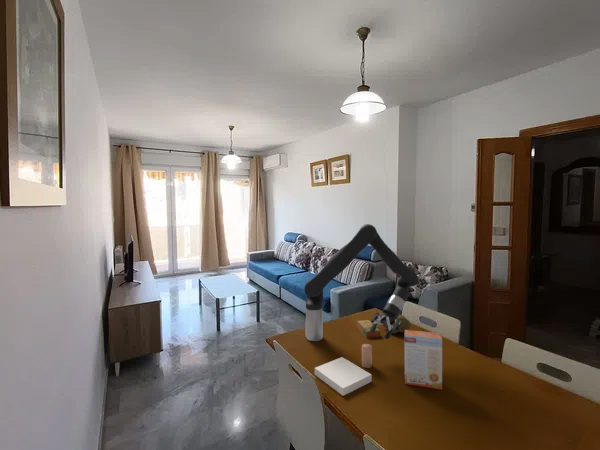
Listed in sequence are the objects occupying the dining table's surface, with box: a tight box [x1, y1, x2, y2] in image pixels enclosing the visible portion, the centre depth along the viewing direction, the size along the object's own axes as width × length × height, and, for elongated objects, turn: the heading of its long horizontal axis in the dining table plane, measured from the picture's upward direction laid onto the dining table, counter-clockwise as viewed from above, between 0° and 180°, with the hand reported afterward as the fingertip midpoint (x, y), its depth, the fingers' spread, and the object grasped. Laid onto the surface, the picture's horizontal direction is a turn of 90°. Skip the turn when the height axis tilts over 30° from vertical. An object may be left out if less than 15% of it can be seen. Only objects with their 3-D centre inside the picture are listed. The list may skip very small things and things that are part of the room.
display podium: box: [314, 356, 373, 396], centre depth 125 cm, size 18×16×3 cm
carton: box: [356, 319, 381, 339], centre depth 172 cm, size 8×16×4 cm, turn 9°
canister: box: [361, 343, 373, 369], centre depth 135 cm, size 5×5×9 cm
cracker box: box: [404, 329, 443, 390], centre depth 120 cm, size 14×6×21 cm, turn 71°
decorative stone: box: [382, 313, 412, 333], centre depth 171 cm, size 17×11×10 cm, turn 56°
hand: (378, 335), depth 139 cm, fingers open, 8 cm apart
